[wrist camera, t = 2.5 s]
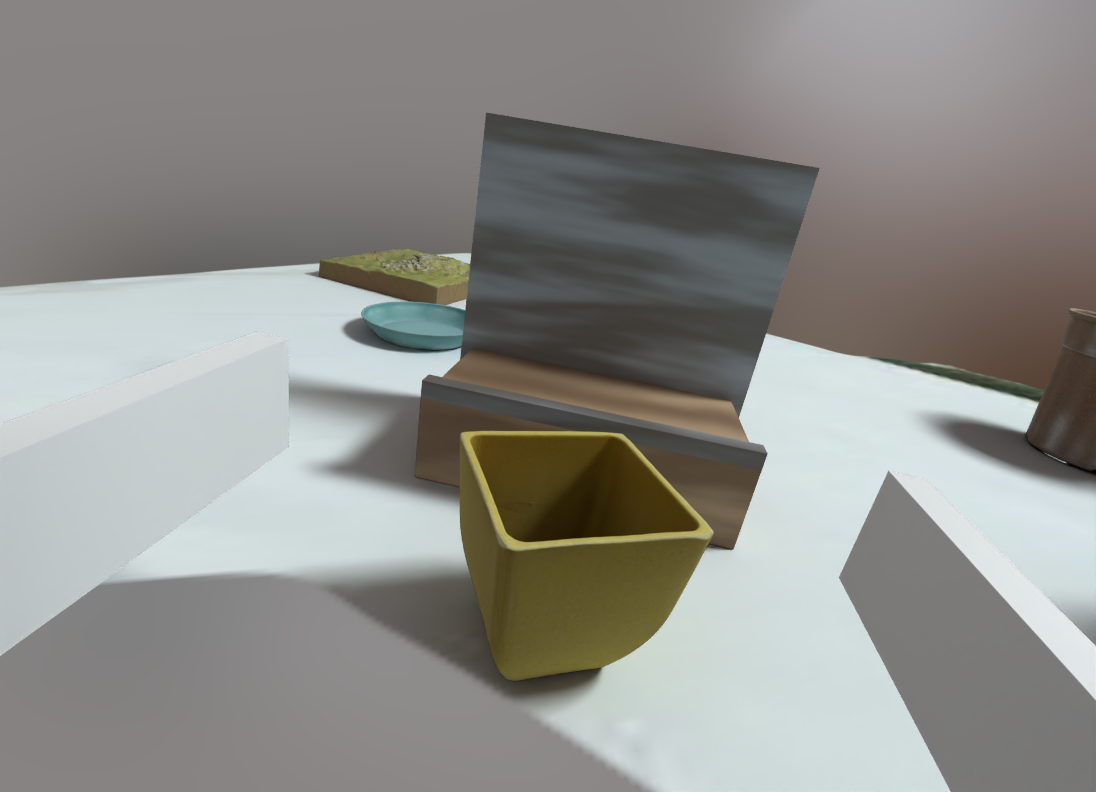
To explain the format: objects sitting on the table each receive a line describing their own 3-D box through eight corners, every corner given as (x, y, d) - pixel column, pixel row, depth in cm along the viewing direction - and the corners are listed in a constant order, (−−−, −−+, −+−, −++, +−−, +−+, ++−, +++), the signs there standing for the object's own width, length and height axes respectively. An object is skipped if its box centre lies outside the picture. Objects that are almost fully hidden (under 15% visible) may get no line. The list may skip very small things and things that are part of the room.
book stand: (748, 552, 36) (894, 159, 27) (400, 473, 38) (427, 83, 29) (719, 456, 49) (811, 168, 40) (461, 400, 51) (493, 116, 42)
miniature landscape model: (317, 279, 86) (317, 247, 84) (406, 266, 107) (407, 240, 105) (435, 311, 80) (438, 277, 78) (504, 291, 101) (508, 264, 99)
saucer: (449, 318, 77) (451, 300, 76) (505, 353, 66) (508, 332, 65) (343, 321, 68) (344, 300, 67) (388, 361, 57) (390, 338, 56)
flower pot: (591, 565, 32) (623, 429, 29) (664, 695, 25) (720, 532, 21) (441, 579, 29) (457, 429, 26) (472, 733, 21) (502, 549, 18)
